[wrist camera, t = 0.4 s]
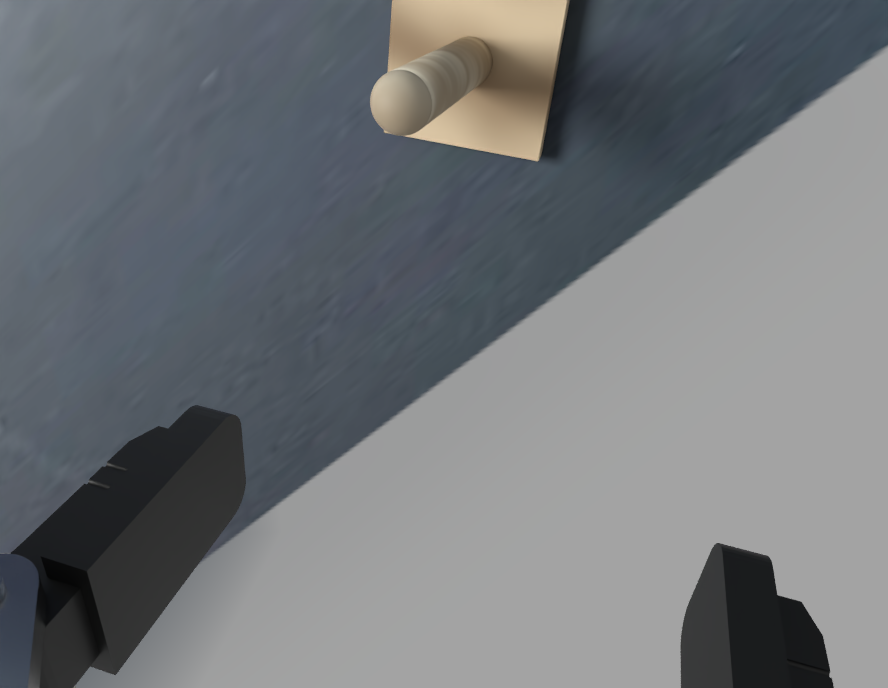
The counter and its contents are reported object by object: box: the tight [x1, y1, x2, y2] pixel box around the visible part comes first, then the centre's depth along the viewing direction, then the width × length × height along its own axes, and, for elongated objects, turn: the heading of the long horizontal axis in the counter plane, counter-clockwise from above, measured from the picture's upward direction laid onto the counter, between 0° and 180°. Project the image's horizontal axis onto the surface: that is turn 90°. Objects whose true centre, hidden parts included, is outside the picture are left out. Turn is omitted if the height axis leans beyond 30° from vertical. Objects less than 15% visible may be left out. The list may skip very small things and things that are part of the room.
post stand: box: [370, 0, 570, 161], centre depth 29 cm, size 8×8×12 cm
